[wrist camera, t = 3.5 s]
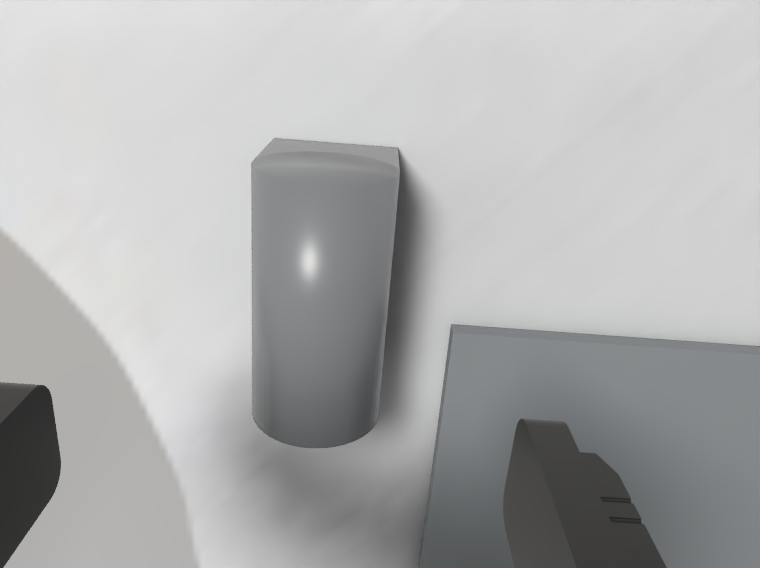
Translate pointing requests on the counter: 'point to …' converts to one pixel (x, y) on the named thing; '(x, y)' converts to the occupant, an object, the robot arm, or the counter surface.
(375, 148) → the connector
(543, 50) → the counter surface
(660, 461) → the slate mat
